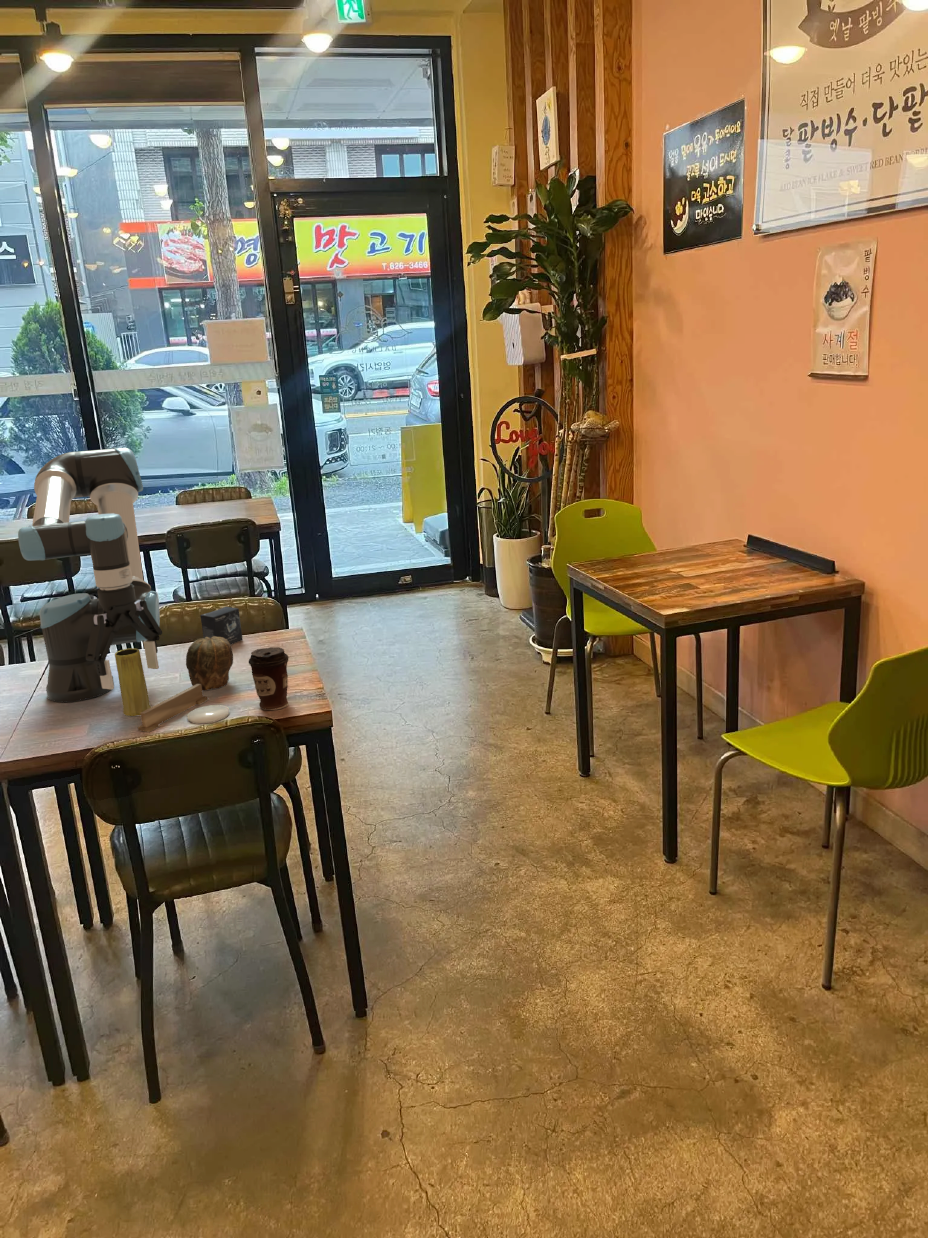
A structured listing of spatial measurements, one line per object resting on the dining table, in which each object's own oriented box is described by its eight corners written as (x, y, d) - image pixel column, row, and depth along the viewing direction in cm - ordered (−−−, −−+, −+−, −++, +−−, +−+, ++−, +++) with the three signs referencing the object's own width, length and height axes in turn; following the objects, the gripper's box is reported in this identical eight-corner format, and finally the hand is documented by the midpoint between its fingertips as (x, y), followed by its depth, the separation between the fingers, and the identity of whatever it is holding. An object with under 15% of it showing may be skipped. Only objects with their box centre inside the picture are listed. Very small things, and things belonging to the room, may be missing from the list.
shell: (224, 693, 210) (217, 645, 207) (182, 692, 213) (174, 645, 209) (244, 677, 220) (238, 631, 217) (203, 676, 223) (196, 630, 219)
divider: (138, 730, 192) (135, 713, 191) (198, 698, 208) (195, 682, 207) (148, 732, 191) (145, 715, 189) (208, 700, 207) (205, 683, 206)
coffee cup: (273, 716, 195) (266, 659, 192) (246, 709, 200) (238, 654, 196) (300, 702, 202) (294, 647, 198) (273, 696, 207) (267, 643, 203)
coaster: (178, 720, 196) (178, 718, 196) (206, 705, 204) (206, 703, 203) (211, 725, 192) (210, 723, 192) (238, 710, 200) (237, 707, 200)
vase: (124, 718, 199) (113, 658, 195) (122, 709, 204) (111, 650, 200) (152, 713, 201) (142, 653, 197) (150, 704, 207) (140, 645, 202)
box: (218, 650, 243) (213, 617, 240) (204, 647, 246) (199, 614, 243) (243, 640, 250) (239, 607, 247) (229, 638, 253) (225, 605, 250)
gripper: (82, 601, 182) (100, 699, 188) (168, 573, 203) (183, 661, 209) (56, 599, 185) (74, 695, 191) (144, 572, 207) (158, 659, 212)
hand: (131, 678), depth 200 cm, fingers open, 13 cm apart
